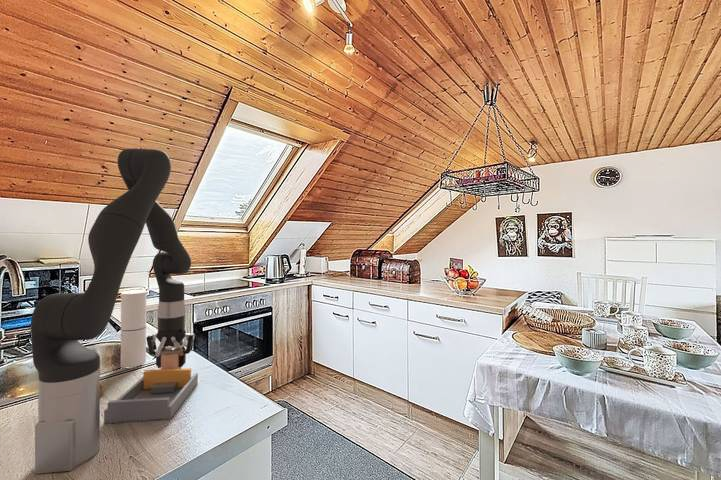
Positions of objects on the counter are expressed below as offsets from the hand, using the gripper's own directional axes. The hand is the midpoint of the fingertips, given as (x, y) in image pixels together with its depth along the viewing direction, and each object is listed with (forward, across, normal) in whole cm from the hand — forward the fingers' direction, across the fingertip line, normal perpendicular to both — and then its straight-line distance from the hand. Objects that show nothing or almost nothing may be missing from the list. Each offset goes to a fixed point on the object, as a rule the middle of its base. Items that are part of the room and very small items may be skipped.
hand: (171, 366), depth 103 cm
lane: (+3, +3, -18) cm, 18 cm away
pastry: (+3, -18, -11) cm, 21 cm away
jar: (+2, 0, 0) cm, 2 cm away
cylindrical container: (+3, -16, +10) cm, 19 cm away
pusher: (+2, +3, -11) cm, 12 cm away
